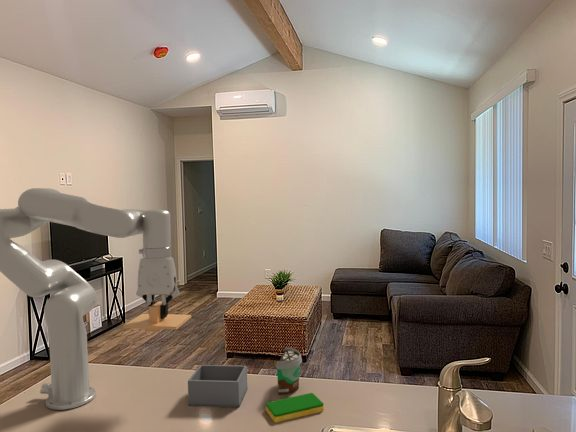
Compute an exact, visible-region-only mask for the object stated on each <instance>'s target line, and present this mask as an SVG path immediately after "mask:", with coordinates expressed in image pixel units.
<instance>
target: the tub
mask: <svg viewBox="0 0 576 432" xmlns="http://www.w3.org/2000/svg"><path fill="white" fill-rule="evenodd" d="M247 392H248V365H228V364H227V365H225V364H224V365H223V364H221V365H220V364H199V366H198V367H197V369H196V370H195V371H194V372H193V374H192V375H191V376H190V377H189V378H188V379H187V394H188V395H187V397H188V407H204V408H205V407H207V408H208V407H209V408H210V407H211V408H212V407H214V408H237V409H238V408H240V406H241V405H242V403H243V400H244V398H245V395H246V393H247Z"/></svg>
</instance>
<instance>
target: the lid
mask: <svg viewBox="0 0 576 432" xmlns="http://www.w3.org/2000/svg"><path fill="white" fill-rule="evenodd" d="M161 305H162V300H159V301H157V302H156V303H155V304H154V305H152V306H150V307H149V306H148V313H142V314H139V316H137V317H135V318H133V319H132V320H130V321H128V322H126V323H125V324H123V325H122V327H123V329H138V330H139V329H142V330H143V329H144V332H151V333H153V332H155V333H160V332H161V330H178V329H179V328H180V327H182V326H183V325H184V324H185V323H186V322H188V321H189V320H190V319H192V314H175V313H174V314H173V313H171V314H170V313H168V315H167V317H165V318H164V319H161V315H160V306H161Z"/></svg>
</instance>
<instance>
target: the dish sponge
mask: <svg viewBox="0 0 576 432" xmlns="http://www.w3.org/2000/svg"><path fill="white" fill-rule="evenodd" d="M324 404H325V403H324V402H322V400H321V399H320V398H319V397H317V396H316V395H315V393H313V392H310V393H304V394H300V395H295V396H291V397H287V398H286V397H285V398H281V399H277V400H274V401H273V400H272V401H268V402H266V403H265V412H266V413H267V414H268V415H269V417H270V419H272V421H273V422H274V423H280V422H284V421H288V420H292V419H296V418H301V417H305V416H309V415H313V414H317V413H322V412H324V410H325V409H324V408H325V406H324Z"/></svg>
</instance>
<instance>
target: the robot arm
mask: <svg viewBox="0 0 576 432" xmlns="http://www.w3.org/2000/svg"><path fill="white" fill-rule="evenodd" d="M17 205H18V206H17V207H14V208H2V209H1V208H0V273H1V274H2V275H3V276H5V277H6V278H7V280H9V281H10V282H11V283H13V284H14V285H15V286H16V287H17V288H18V289H20V291H22V292H23V293H24V294H26V296H28V297H31V298H41V297H44V296H47V295H49V294H52V295H51V296H50V297H49V298H48V299H47V300H46V301H45V302H46V303H45V305H44V307H43V308H44V309H43V313H44V314H43V315H44V319H45V323H46V328H47V332H48V333H47V334H48V344H49V345H48V346H49V363H50V364H49V366H50V381H51V382H50V383H49V382H48V383H47V382H45V383H43V384H42V385H41V388H40V391H39V393H40V394H41V395H45V394H47V396H48V397H47V398H46V400H45V405H46V407H47V408H48V409H50V410H54V411H55V410H56V411H61V410H62V411H63V410H69V409H74V408H77V407H80V406H83V405H86V404H88V403H89V402H91V401H92V400H93V399H94V398H95V397H96V393H97V392H96V389H95V388H94V387H92V386H90V375H89V372H90V371H89V351H88V334H87V328H86V326H85V325H86V324H85V322H84V316H85V315H87V314H88V313H90V312H91V311H92V310H93V309H94V308H96V307H95V306H96V305H97V302H98V295H97V291H96V290H95V289H94V287H93V286H92V285H91V283H89V282H88V281H87V280H86V279H85V278H83V277H82V276H81V275H80V274H79V273H77V272H76V271H75V270H74V269H73V268H72V267H70V266H69V264H67V263H66V262H63V261H61V260H58V259H45V260H41V259H39V258H37V257H36V256H35V255H33V254H32V253H31V252H30V251H29V250H28V249H26V247H24V246H22V245H21V244H19V243H17V242H15V241H14V240H12V239H15V238H20V237H24V236H26V235H28V234H30V233H32V232H34V231H36V230H37V229H39V228H41V227H43V226H44V225H46V224H48V223H49V222H50V223H55V224H60V225H65V226H70V227H74V228H76V229H78V230H82V231H84V232H89V233H92V234H96V235H102V236H107V237H110V238H118V239H123V238H125V239H126V238H128V237H132V236H136V235H142V248H140V249H138V254H140V255H142V257H141V258H140V259H139V264H138V271H137V272H138V273H137V284H136V285H137V290H136V292H135V294H136V296H138V297H139V298H142V299H143V300H144V301H145V303H146V304H147V305H148V308H149V307H150V306H152V305H154V304H155V303H157V302H156V296H157V295H158V296H161V301H162V305H161V306H160V315H161V319H164V318H165V317H167V315H168V314H169V303H170V302H171V300H173V299H175V298H177V297H179V296H180V295H181V292H180V290H179V288H178V278H177V270H176V264H175V260H174V257H172V240H171V239H172V237H171V236H172V233H171V232H172V231H171V229H172V227H171V213H170V211H168V210H166V209H147V210H143V209H137V208H136V209H135V208H127V209H125V208H124V209H117V208H112V207H107V206H102V205H98V204H94V203H92V202H89V201H88V199H86V198H85V197H83V196H79V195H74V194H67V193H61V192H60V191H58V190H57V189H53V188H43V187H42V188H41V187H32V188H29V189H26V190H25V191H23V192H22V193H21V194H20V196H19V197H18V201H17Z"/></svg>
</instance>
